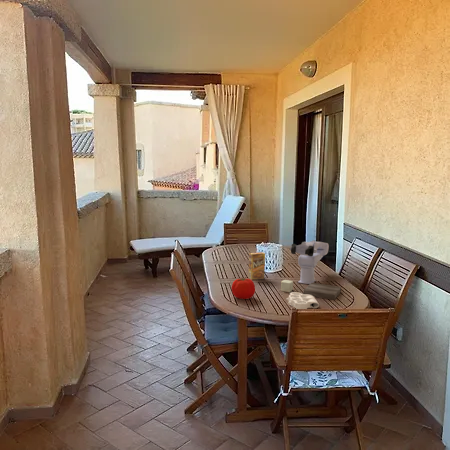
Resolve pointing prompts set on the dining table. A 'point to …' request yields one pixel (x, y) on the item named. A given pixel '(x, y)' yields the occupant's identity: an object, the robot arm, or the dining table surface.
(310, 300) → the white brass knuckles
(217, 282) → the dining table surface
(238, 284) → the tomato
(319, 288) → the taupe base
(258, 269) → the candy box
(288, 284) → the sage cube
